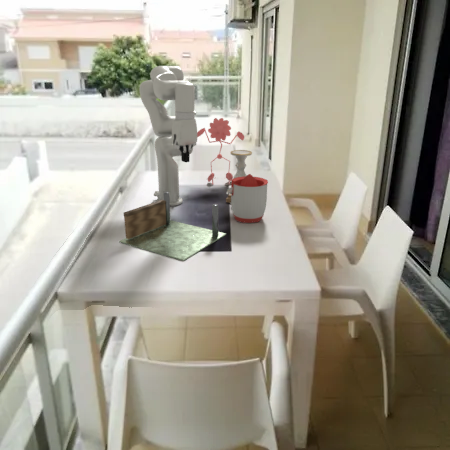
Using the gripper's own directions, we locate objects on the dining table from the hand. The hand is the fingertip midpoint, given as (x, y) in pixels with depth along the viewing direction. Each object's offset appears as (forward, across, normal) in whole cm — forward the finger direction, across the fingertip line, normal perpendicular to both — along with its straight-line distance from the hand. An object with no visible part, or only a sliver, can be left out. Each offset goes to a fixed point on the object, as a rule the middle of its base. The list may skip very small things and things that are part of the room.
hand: (185, 161), depth 178 cm
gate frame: (+25, +17, +14) cm, 33 cm away
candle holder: (+26, -35, -2) cm, 44 cm away
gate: (+24, +22, +2) cm, 33 cm away
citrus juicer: (+25, -19, +18) cm, 36 cm away
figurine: (+28, -52, -34) cm, 68 cm away
